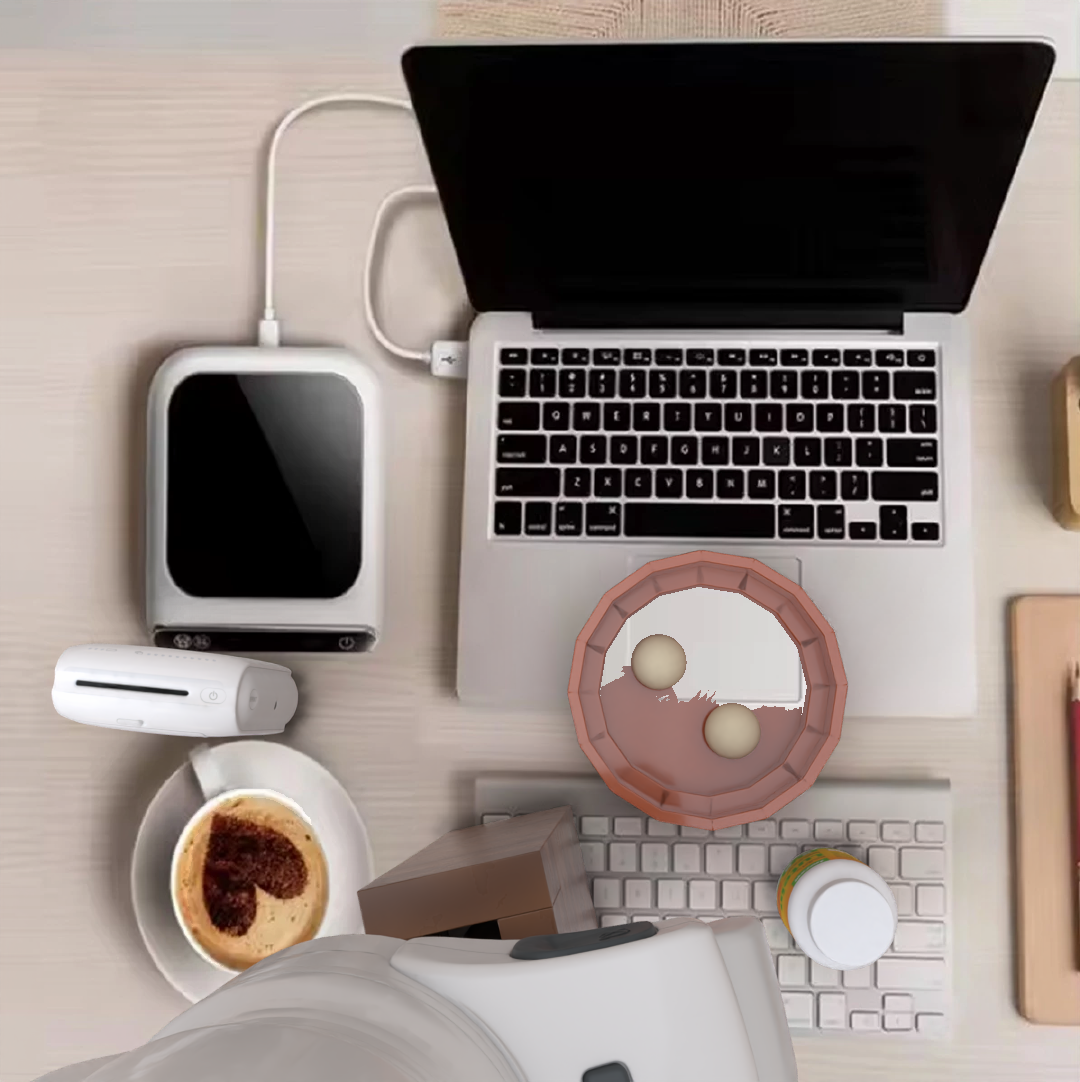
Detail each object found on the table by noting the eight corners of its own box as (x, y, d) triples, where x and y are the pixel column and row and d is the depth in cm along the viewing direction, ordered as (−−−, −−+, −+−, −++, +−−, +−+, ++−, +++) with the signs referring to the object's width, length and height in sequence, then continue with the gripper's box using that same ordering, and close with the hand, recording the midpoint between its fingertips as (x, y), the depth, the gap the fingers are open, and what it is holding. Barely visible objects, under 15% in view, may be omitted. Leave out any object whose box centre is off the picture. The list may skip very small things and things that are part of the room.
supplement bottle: (806, 827, 76) (830, 844, 67) (893, 879, 76) (931, 904, 66) (756, 913, 76) (774, 942, 66) (843, 967, 75) (874, 1004, 66)
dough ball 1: (691, 683, 77) (693, 682, 74) (638, 695, 77) (638, 694, 74) (678, 630, 78) (680, 627, 75) (625, 642, 78) (625, 639, 75)
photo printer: (305, 663, 79) (245, 653, 67) (296, 739, 79) (234, 744, 67) (129, 646, 80) (38, 633, 68) (119, 721, 80) (26, 722, 67)
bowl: (859, 788, 76) (876, 794, 71) (606, 845, 77) (603, 855, 71) (795, 537, 78) (807, 524, 73) (549, 595, 79) (542, 586, 73)
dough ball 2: (764, 751, 76) (769, 753, 73) (710, 763, 77) (713, 765, 74) (750, 697, 77) (755, 697, 74) (697, 709, 77) (700, 709, 74)
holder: (599, 931, 76) (582, 1042, 51) (474, 958, 77) (395, 1083, 51) (570, 804, 77) (539, 850, 52) (448, 831, 78) (356, 891, 52)
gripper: (-115, 1425, 29) (126, 1195, 43) (857, 1220, 28) (784, 1052, 42) (-162, 1114, 30) (89, 986, 43) (781, 905, 29) (733, 842, 43)
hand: (435, 1017), depth 43 cm, fingers open, 8 cm apart
